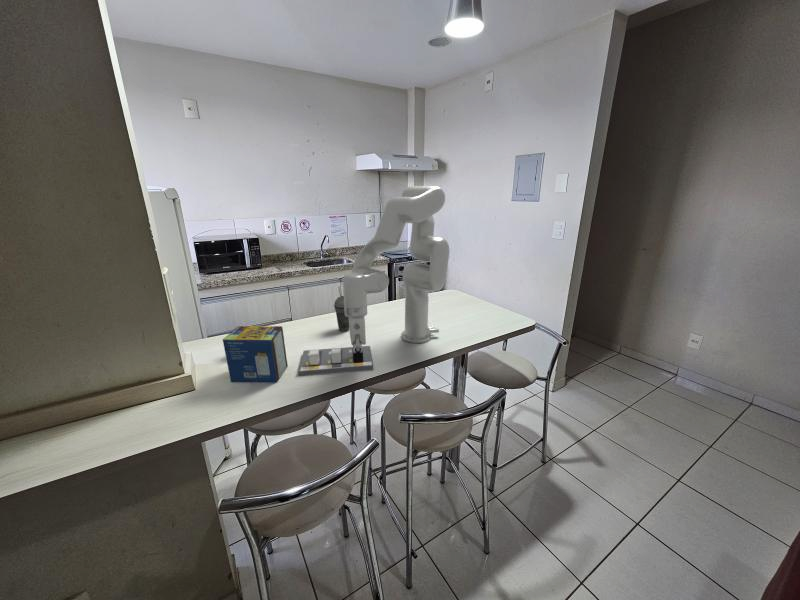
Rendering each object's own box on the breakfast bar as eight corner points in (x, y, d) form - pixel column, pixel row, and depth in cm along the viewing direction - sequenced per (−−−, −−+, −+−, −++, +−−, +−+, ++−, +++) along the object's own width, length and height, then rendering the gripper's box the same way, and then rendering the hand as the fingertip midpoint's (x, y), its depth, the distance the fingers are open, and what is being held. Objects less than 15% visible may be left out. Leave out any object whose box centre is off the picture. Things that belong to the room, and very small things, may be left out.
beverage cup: (349, 334, 140) (346, 289, 133) (333, 332, 141) (330, 288, 135) (354, 327, 146) (352, 284, 140) (339, 326, 148) (336, 283, 141)
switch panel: (370, 349, 127) (370, 345, 126) (373, 369, 113) (373, 364, 112) (304, 354, 123) (303, 349, 122) (299, 375, 109) (298, 370, 108)
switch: (319, 360, 115) (318, 349, 114) (319, 364, 112) (318, 354, 111) (310, 360, 114) (309, 350, 113) (310, 365, 112) (309, 354, 110)
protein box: (244, 366, 115) (237, 325, 110) (288, 366, 115) (283, 325, 110) (229, 383, 105) (221, 339, 100) (277, 383, 105) (271, 339, 100)
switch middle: (341, 358, 116) (340, 348, 115) (341, 362, 113) (340, 352, 112) (332, 359, 116) (331, 348, 114) (332, 363, 113) (331, 352, 111)
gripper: (368, 319, 101) (370, 367, 106) (365, 301, 117) (367, 343, 123) (344, 320, 100) (347, 369, 105) (344, 302, 116) (347, 345, 121)
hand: (357, 355), depth 114 cm, fingers open, 9 cm apart
